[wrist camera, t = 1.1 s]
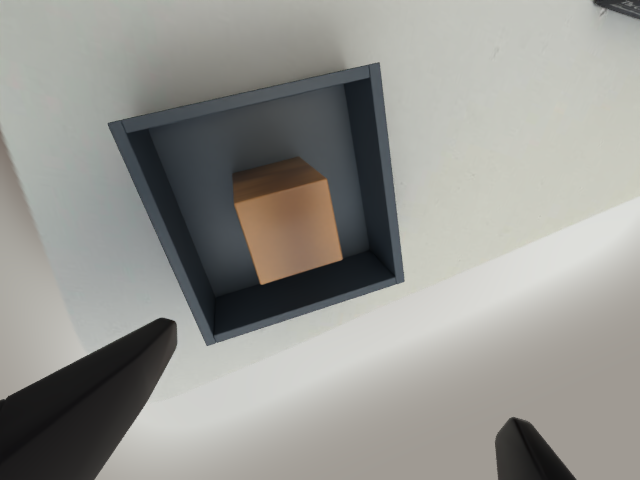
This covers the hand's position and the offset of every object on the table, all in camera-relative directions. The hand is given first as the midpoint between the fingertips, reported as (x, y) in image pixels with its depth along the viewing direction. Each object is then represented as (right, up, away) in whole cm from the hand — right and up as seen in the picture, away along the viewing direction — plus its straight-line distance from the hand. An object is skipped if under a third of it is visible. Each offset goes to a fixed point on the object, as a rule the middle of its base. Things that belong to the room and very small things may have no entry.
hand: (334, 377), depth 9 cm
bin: (-3, +7, +14) cm, 16 cm away
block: (-3, +6, +14) cm, 16 cm away
